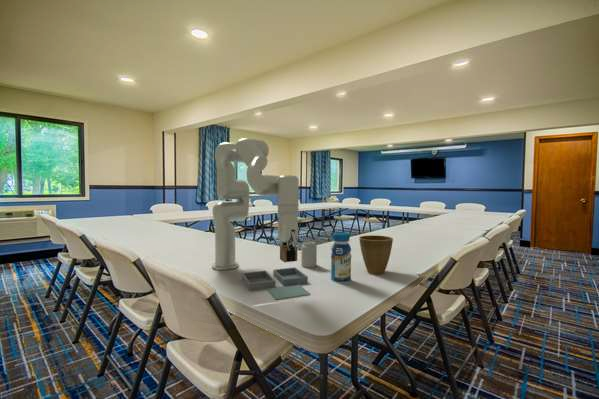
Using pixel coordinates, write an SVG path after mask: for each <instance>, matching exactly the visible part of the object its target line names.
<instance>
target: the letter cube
mask: <svg viewBox="0 0 599 399" xmlns="http://www.w3.org/2000/svg"><path fill="white" fill-rule="evenodd" d="M287 250H288V249H287V245H282V246H281V245H279V260H280V261H282V262H283V263H288V262H287ZM292 262H298V246H296V260H295V261H292ZM292 262H291V263H292Z"/></svg>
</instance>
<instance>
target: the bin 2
mask: <svg viewBox="0 0 599 399" xmlns="http://www.w3.org/2000/svg"><path fill="white" fill-rule="evenodd" d="M272 273H273V274H272V277H273V278H274V279H276V280H277V281H278V282H279V283H280V284H281V285H282V286H288V285H296V284H300V285H302V284H308V282H309V280H308V279H309V277H308V276H307V274H305V273H303V271H301V270H300V269H298V268H296V267H288V268H287V267H285V268H277V269H273V271H272Z"/></svg>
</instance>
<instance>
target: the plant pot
mask: <svg viewBox="0 0 599 399" xmlns="http://www.w3.org/2000/svg"><path fill="white" fill-rule="evenodd" d="M393 239H394V238H393V237H391V236H387V235H377V234H376V235H370V234H369V235H361V236H359V237H358V240H359V244H360V245H359V246H360V251H361V256H362V259H363V262H364V265H365V268H366V272H367V273H368V274H372V275H383V274H384V273H386V272H385V271H386V269H387V266H388V263H389V260H390V257H391V252H392V249H393V248H392V247H393V242H394V240H393Z"/></svg>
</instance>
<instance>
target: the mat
mask: <svg viewBox="0 0 599 399" xmlns="http://www.w3.org/2000/svg"><path fill="white" fill-rule="evenodd" d="M266 290H267V291H268V293H269V294H270V295H271V296H272V298H273V299H274V300H275V301H278V300H283V299H284V300H287V299H295V298H300V297H309V296H310V295H311V293H310V292H309V291H308V290H306V289H305V287H303V286H302V284H296V285H288V286H283V285H282V286H275V287H273V288H266Z"/></svg>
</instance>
